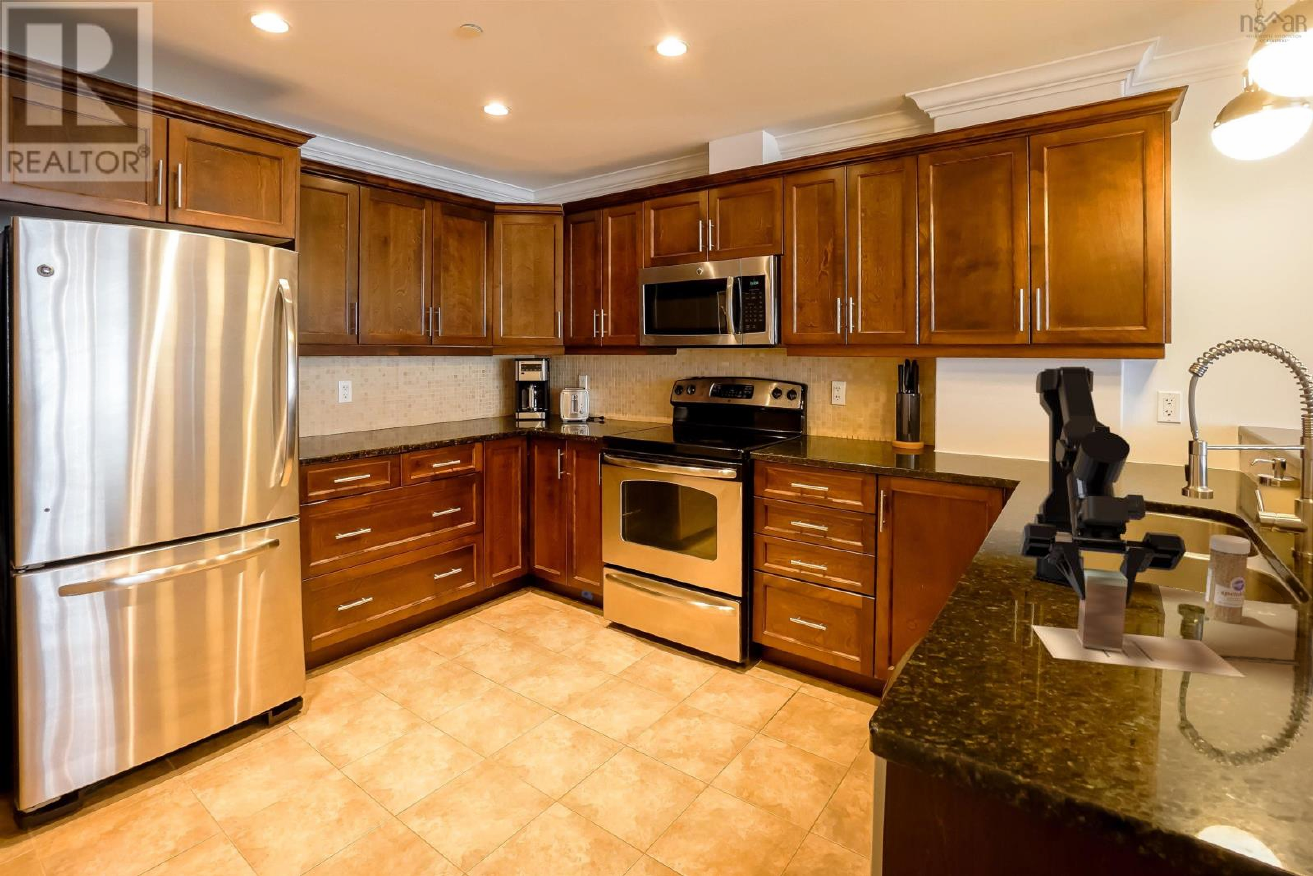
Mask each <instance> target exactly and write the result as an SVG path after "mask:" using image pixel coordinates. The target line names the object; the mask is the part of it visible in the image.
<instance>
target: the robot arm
mask: <svg viewBox="0 0 1313 876" xmlns="http://www.w3.org/2000/svg"><path fill="white" fill-rule="evenodd" d="M1090 369H1091V368H1089V367H1088V368H1087V367H1085V366H1060V367H1059V368H1058V367H1057V368H1056V367H1055V368H1044V370H1043V371H1040V372H1039V373H1037V375H1036V379H1035V393H1036V394H1039V406H1041V408H1042V409H1043V410H1044V412H1045V413H1046V415H1047V416H1048V494H1047V495H1046V497H1045V498H1044V499H1043V501H1042V502H1041V503H1040V505H1039V507H1038V513H1035V516H1034V519H1033V522H1032V523H1031V522H1027V524H1025V525H1024V526H1023V529H1022V534H1021V537H1020V545H1019V546H1020V555H1021V556H1022V557H1024V558H1029V559H1030V558H1031V559H1036V563H1035V573H1032V575H1031V578H1032V577H1037V578H1041V579H1045V580H1048V581H1047V582H1049V581H1051V582H1050V583H1053V582H1057V583H1056V584H1058V583H1061V584H1060V585H1062V584H1064V585H1063V586H1066V585H1067V587H1072V588H1073V589H1074V591H1075V593H1076V594H1077V597H1078V598H1079V600H1080V599H1081V600H1085V598H1086V592H1085V583H1084V579H1083V574H1082V568H1085V567H1084V566H1085V565H1084V564H1085V563H1084V562H1085V557H1084V556H1082V552H1089V553H1090V552H1092V553H1103V554H1114V555H1121V556H1122V561H1121V563H1120V566H1119V567H1118V568H1119V571H1120V572H1121V573H1122V574H1123V575H1124V576H1125V577H1126V578H1127V580H1128V581H1127V593H1126V606H1128V605H1129V603H1130V601H1131V597H1132V593H1133V589H1134V586H1135V582H1136V578H1137V574H1139V573H1140V574H1143V573H1146V571H1147V570H1157V571H1158V570H1161V571H1168V572H1169V571H1172V570H1176V568H1177V566H1178V565H1179V563H1180V562H1181V560H1182V558H1183V557H1184V555H1185V554H1186V552H1187V550H1186V549H1187V548H1186V544H1185V539H1183V538H1182V537H1181V536H1180V535H1178V534H1177V533H1169V532H1168V533H1165V532H1153V531H1151V532H1150V531H1146V532H1145V534H1144V536H1143V537H1142V540H1141V541H1139V540H1129V539H1128V540H1127V539H1122V535H1125V534H1126V533H1127V524H1129V523H1130V521H1131V520H1133V521H1141V520H1142V519H1144V518H1145V517H1146V515H1147V514H1146V513H1147V512H1146V503H1145V499H1144V496H1143V494H1130V493H1129V494H1127V495H1126V496H1125V497H1117V496H1116V495H1115V489H1114V484H1115V483H1117V482H1118V481H1119V478H1120V476H1121V473H1122V471H1123V469H1124V466H1125V464H1126V461H1127V459H1128V457H1129V454H1130V452H1131V451H1130V449H1131V446H1130V444H1129V443H1128V441H1126V440H1125V439H1124V438H1123V437H1122V436H1121V435H1119V434H1117V433H1115V432H1111V429H1110V426H1108V425H1107V426H1106V425H1105V424H1103V423H1102V422H1100V421H1099V420H1098V418H1097V413H1096V410H1095V409H1096V408H1095V405H1094V401H1093V400H1094V399H1093V396H1092V393H1093V392H1094V371H1093V370H1090ZM1115 496H1116V497H1115ZM1045 580H1044V581H1045Z"/></svg>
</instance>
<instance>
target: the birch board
mask: <svg viewBox="0 0 1313 876" xmlns="http://www.w3.org/2000/svg"><path fill="white" fill-rule="evenodd" d="M1031 627H1032V629H1033V630H1034V631H1035V633H1036V634H1037V636H1038V637H1039V638H1040V640H1041V642H1042V643H1043V645H1044V646H1045V648H1046V649H1047V651H1048V652H1049V653H1050V654H1051V656H1052V657H1053V658H1054V659H1061V660H1062V659H1063V660H1069V661H1070V660H1071V661H1080V662H1092V663H1101V664H1111V665H1118V666H1119V665H1120V666H1131V667H1139V668H1148V669H1157V670H1158V669H1159V670H1169V671H1178V672H1179V671H1180V672H1186V673H1187V672H1188V673H1198V674H1204V675H1205V674H1206V675H1217V676H1226V677H1237V678H1247V677H1246V676H1245V675H1243V674H1242V673H1241V672H1240V671H1238V670H1237V669H1236V668H1235V667H1234V666H1232V665H1231V664H1230V663H1228V662H1227V661H1226V660H1225V659H1223V658H1222V657H1221V656H1220V655H1219V654H1217V653H1216V652H1215V651H1214V650H1213V649H1211V648H1210V647H1209V646H1208V645H1206V644H1205V643H1204V642H1202V640H1197V639H1185V638H1174V637H1166V636H1165V637H1164V636H1163V637H1162V636H1155V635H1153V636H1151V635H1142V634H1133V633H1123V644H1122V652H1118V651H1111V650H1104V649H1096V648H1089V647H1082V645H1081V643H1080V641H1079V639H1078V637H1077V633H1078V628H1077V629H1075V628H1067V627H1065V628H1063V627H1056V626H1055V627H1053V626H1045V625H1043V626H1042V625H1033V624H1031Z"/></svg>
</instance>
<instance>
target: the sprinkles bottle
mask: <svg viewBox="0 0 1313 876" xmlns="http://www.w3.org/2000/svg"><path fill="white" fill-rule="evenodd" d="M1208 548H1209V552H1210V553H1209V561H1208V567H1207V568H1208V569H1207V576H1206V577H1207V579H1206V589H1205V606H1204V617H1206V618H1207V619H1210V620H1212V621H1216V622H1219V623H1224V624H1234V625H1237V624H1240V623H1242V620H1243V619H1242V617H1243V609H1244V604H1245V595H1246V582H1247V581H1246V579H1247V567H1248V566H1247V565H1248V556H1249V554H1250V552H1251V541H1250V539H1247V538H1244V537H1240V536H1235V535H1229V534H1213V535H1211V536H1210V539H1209V547H1208Z"/></svg>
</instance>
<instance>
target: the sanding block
mask: <svg viewBox="0 0 1313 876" xmlns="http://www.w3.org/2000/svg"><path fill="white" fill-rule="evenodd" d="M1082 574H1083V579H1084V583H1085V592H1086V598H1085V600H1081V599H1080V598H1079V603H1078V604H1079V606H1078V607H1079V608H1078V620H1077V629H1078V633H1077V637H1078V639H1079V641H1080V643H1081V645H1082V647H1089V648H1096V649H1104V650H1111V651H1118V652H1122V644H1123V634H1124V630H1125V619H1126V617H1125V616H1126V606H1127V605H1126V593H1127V581H1128V580H1127V578H1126V577H1125V576H1124V575H1123V574H1122V573H1121V572H1120V570H1119V571H1117V570H1107V569H1098V568H1097V569H1096V568H1089V567H1088V568H1087V567H1083V568H1082Z"/></svg>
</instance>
